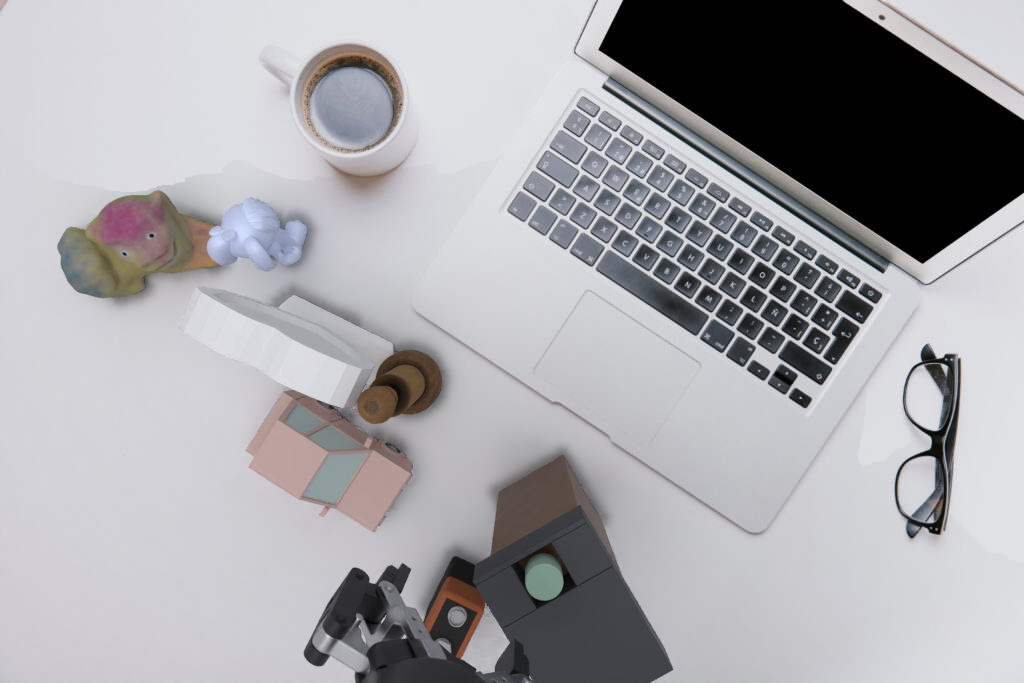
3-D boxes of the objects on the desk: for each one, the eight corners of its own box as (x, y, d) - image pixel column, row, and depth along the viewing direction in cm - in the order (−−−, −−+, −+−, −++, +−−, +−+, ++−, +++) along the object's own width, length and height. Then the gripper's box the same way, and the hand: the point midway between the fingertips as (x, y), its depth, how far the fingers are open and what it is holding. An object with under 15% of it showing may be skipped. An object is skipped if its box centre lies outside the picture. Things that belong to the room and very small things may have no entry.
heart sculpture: (409, 351, 69) (363, 363, 51) (389, 395, 70) (335, 422, 52) (276, 286, 70) (184, 275, 52) (256, 329, 70) (158, 333, 52)
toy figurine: (318, 215, 69) (276, 197, 57) (311, 277, 70) (267, 272, 58) (253, 206, 69) (196, 186, 57) (245, 267, 70) (188, 260, 58)
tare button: (568, 577, 48) (570, 589, 46) (536, 595, 48) (537, 607, 46) (550, 546, 47) (551, 557, 45) (518, 564, 48) (518, 575, 46)
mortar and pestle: (373, 402, 70) (321, 437, 52) (386, 343, 70) (340, 357, 52) (434, 417, 70) (404, 457, 52) (448, 358, 70) (423, 377, 52)
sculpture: (109, 316, 70) (40, 318, 60) (74, 241, 70) (-1, 231, 60) (235, 259, 70) (187, 252, 60) (200, 183, 69) (146, 163, 59)
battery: (426, 608, 72) (410, 658, 62) (453, 552, 71) (442, 594, 61) (463, 626, 72) (453, 679, 62) (490, 570, 71) (485, 614, 61)
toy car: (379, 526, 71) (356, 563, 61) (258, 449, 71) (214, 473, 61) (427, 453, 71) (411, 479, 61) (304, 375, 70) (268, 387, 60)
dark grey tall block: (622, 545, 71) (674, 670, 47) (549, 587, 71) (562, 731, 47) (562, 444, 70) (584, 517, 46) (489, 486, 71) (472, 580, 47)
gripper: (209, 781, 26) (328, 599, 43) (506, 980, 27) (513, 724, 43) (314, 629, 26) (394, 504, 42) (615, 833, 26) (580, 631, 42)
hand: (454, 615), depth 42 cm, fingers open, 8 cm apart
